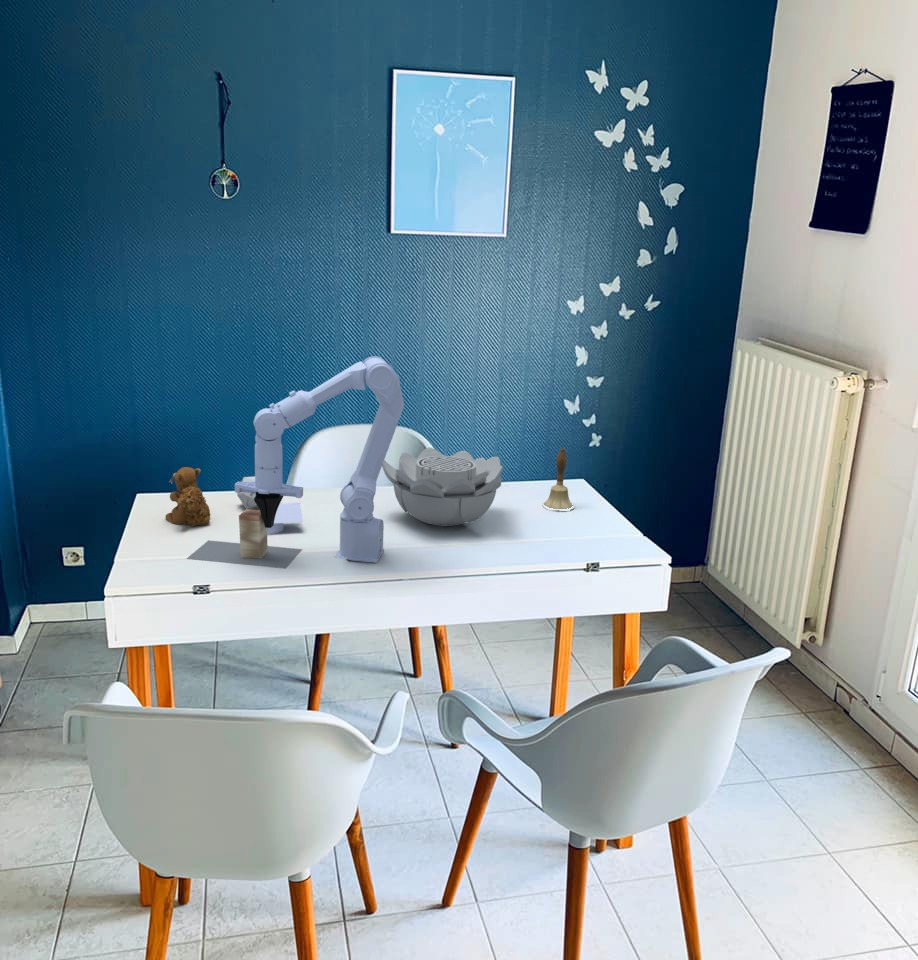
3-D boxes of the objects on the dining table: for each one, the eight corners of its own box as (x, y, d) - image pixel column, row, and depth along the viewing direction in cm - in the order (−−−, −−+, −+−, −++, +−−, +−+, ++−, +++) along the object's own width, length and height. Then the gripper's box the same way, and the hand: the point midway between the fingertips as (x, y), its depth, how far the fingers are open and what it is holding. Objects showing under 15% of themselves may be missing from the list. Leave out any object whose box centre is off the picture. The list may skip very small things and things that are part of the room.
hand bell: (536, 504, 255) (540, 446, 251) (562, 501, 259) (566, 444, 254) (553, 513, 248) (558, 454, 244) (580, 510, 252) (584, 451, 247)
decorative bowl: (457, 551, 217) (460, 488, 213) (361, 521, 234) (362, 462, 230) (529, 521, 241) (533, 464, 237) (437, 496, 258) (439, 442, 254)
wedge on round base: (297, 523, 231) (243, 526, 228) (297, 496, 230) (242, 499, 226) (302, 535, 223) (246, 538, 219) (302, 508, 221) (245, 510, 217)
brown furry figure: (203, 511, 237) (201, 460, 233) (222, 528, 225) (221, 474, 222) (162, 517, 231) (160, 464, 228) (180, 534, 220) (178, 479, 216)
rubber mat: (302, 551, 212) (302, 549, 212) (285, 570, 201) (285, 568, 201) (208, 542, 215) (208, 540, 215) (186, 561, 204) (186, 558, 204)
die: (230, 509, 241) (235, 486, 234) (244, 485, 247) (249, 462, 240) (260, 522, 242) (265, 499, 234) (274, 498, 247) (279, 475, 240)
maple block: (267, 551, 210) (266, 510, 207) (260, 558, 205) (259, 516, 203) (248, 550, 210) (246, 509, 208) (240, 557, 206) (238, 515, 203)
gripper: (228, 467, 199) (230, 529, 202) (296, 473, 197) (296, 535, 201) (241, 459, 205) (242, 519, 209) (306, 464, 204) (305, 524, 207)
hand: (269, 526), depth 205 cm, fingers closed
